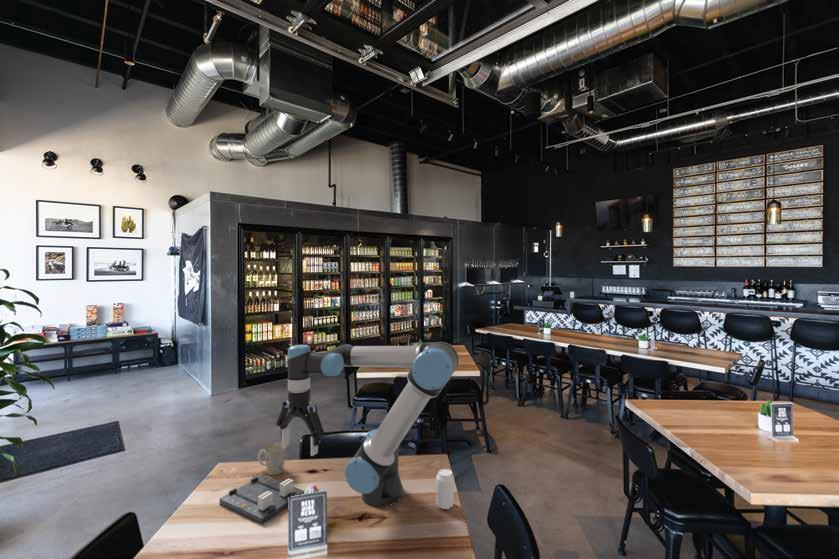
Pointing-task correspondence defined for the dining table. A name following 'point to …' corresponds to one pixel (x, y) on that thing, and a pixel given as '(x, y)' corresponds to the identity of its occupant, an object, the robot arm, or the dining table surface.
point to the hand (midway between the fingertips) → (299, 450)
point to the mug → (273, 458)
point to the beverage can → (444, 488)
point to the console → (247, 499)
